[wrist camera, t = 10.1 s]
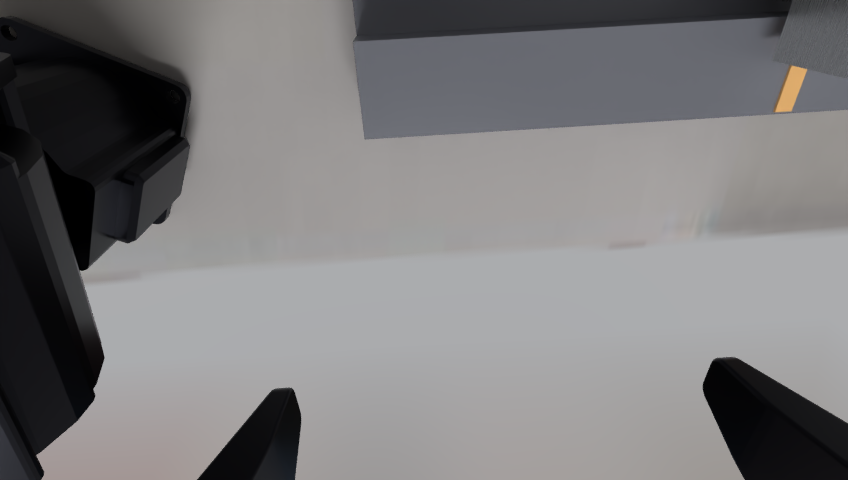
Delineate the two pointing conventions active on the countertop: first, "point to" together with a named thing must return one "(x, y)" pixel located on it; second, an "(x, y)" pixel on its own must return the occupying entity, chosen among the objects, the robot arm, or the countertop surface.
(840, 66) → the fader tab
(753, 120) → the countertop surface
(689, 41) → the fader console
